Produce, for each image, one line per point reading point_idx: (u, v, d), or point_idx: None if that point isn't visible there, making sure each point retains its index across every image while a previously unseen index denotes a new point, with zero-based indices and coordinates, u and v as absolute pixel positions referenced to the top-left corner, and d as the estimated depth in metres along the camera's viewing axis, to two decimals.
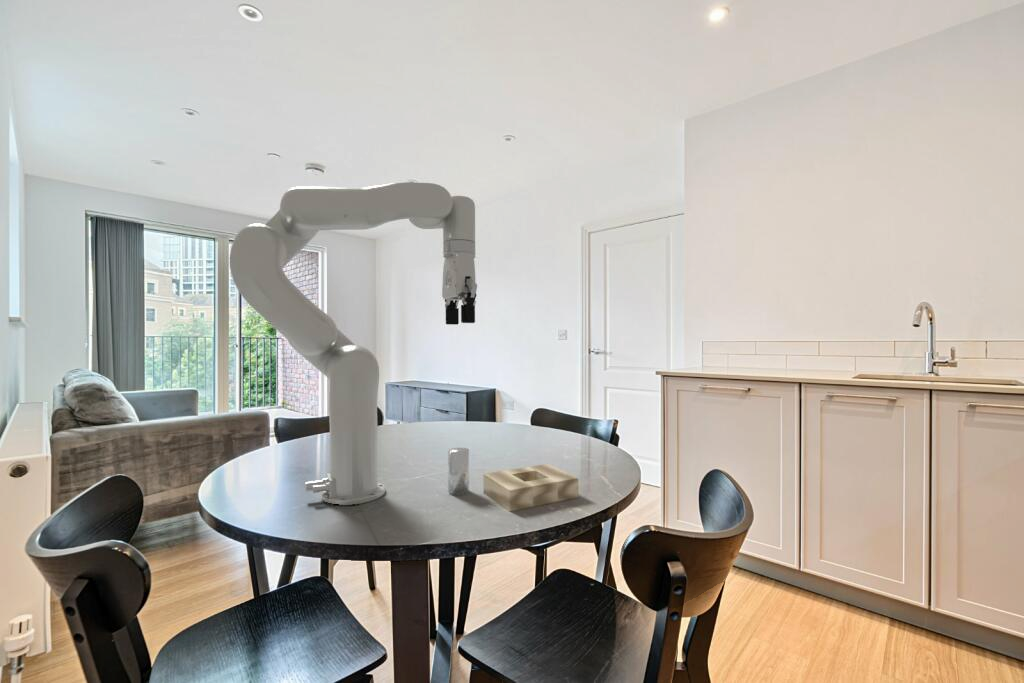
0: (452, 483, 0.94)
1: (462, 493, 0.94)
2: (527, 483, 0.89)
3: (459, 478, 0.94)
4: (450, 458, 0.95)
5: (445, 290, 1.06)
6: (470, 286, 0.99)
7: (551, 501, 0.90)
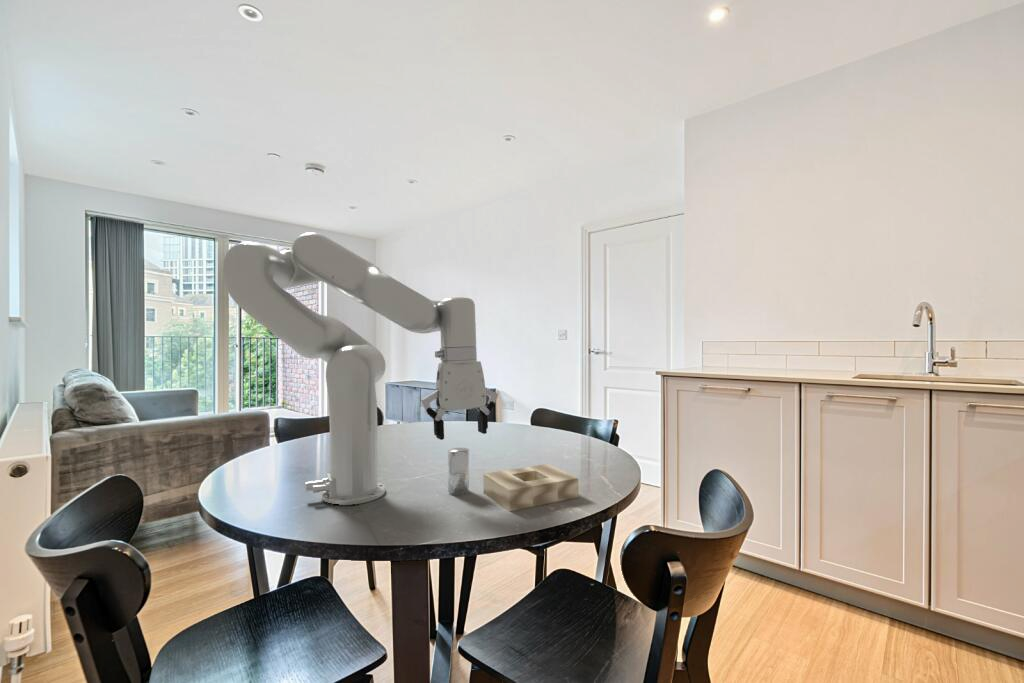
0: (452, 483, 0.94)
1: (462, 493, 0.94)
2: (527, 483, 0.89)
3: (459, 478, 0.94)
4: (450, 458, 0.95)
5: (456, 401, 0.93)
6: (494, 395, 0.99)
7: (551, 501, 0.90)
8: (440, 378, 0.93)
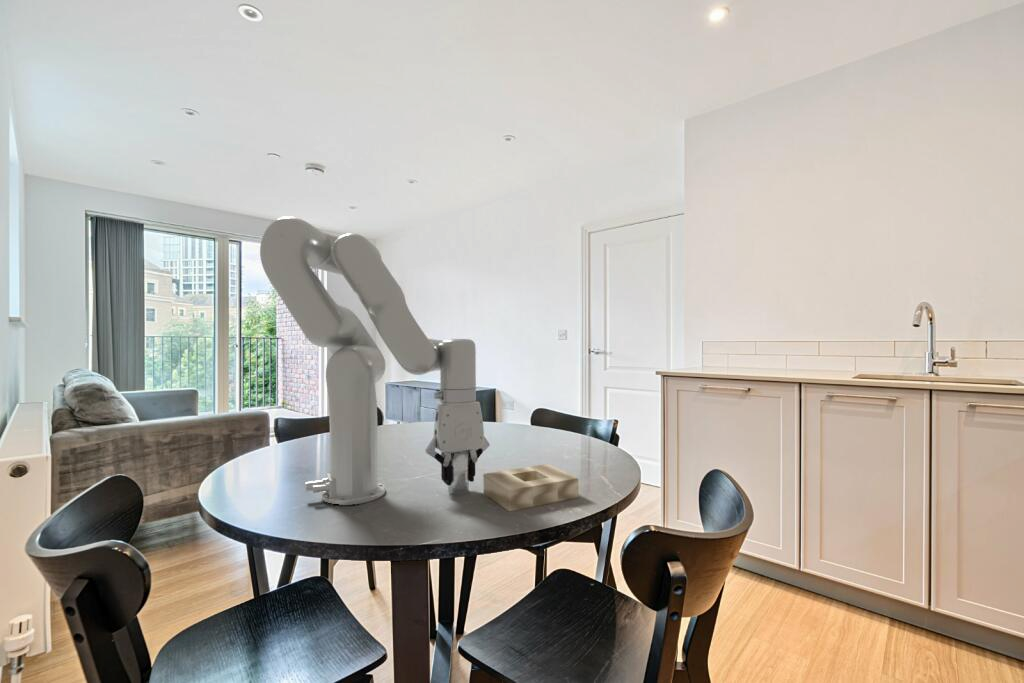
0: (452, 483, 0.94)
1: (462, 493, 0.94)
2: (527, 483, 0.89)
3: (459, 478, 0.94)
4: (450, 458, 0.95)
5: (454, 443, 0.93)
6: (485, 444, 0.99)
7: (551, 501, 0.90)
8: (439, 420, 0.93)
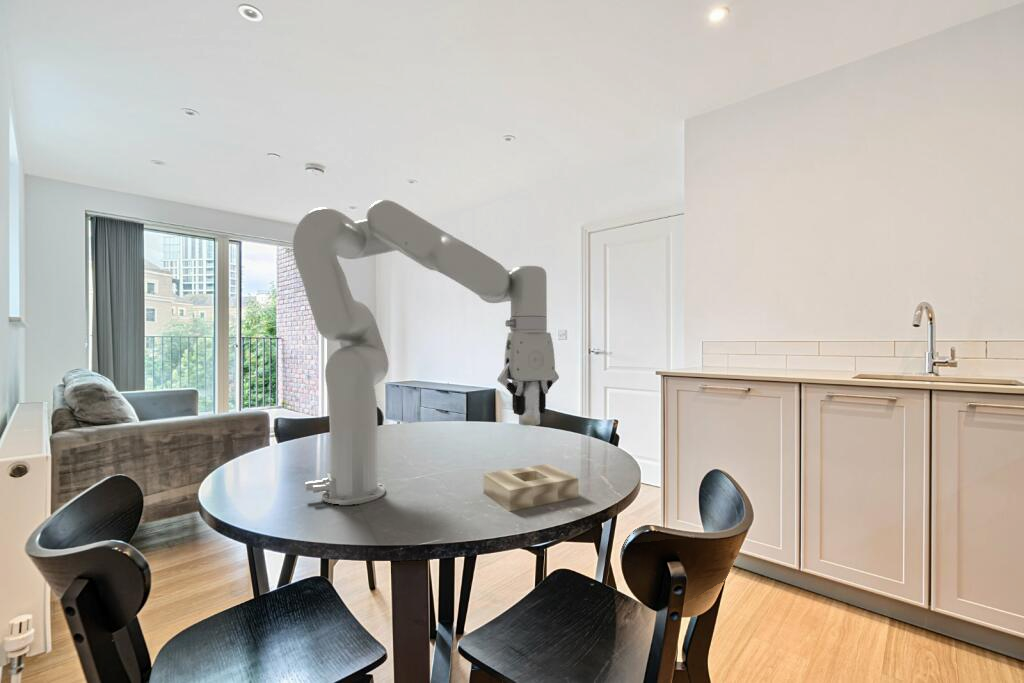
0: (524, 413, 0.92)
1: (534, 423, 0.92)
2: (527, 483, 0.89)
3: (531, 408, 0.92)
4: (522, 388, 0.93)
5: (527, 371, 0.91)
6: (555, 376, 0.96)
7: (551, 501, 0.90)
8: (511, 347, 0.91)
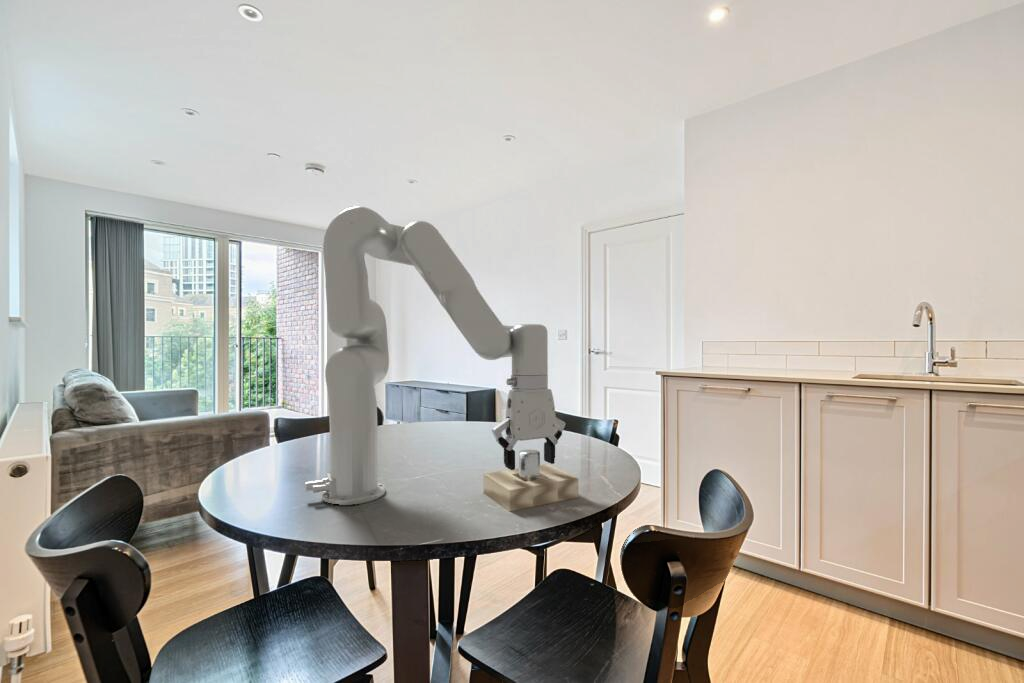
0: None
1: None
2: (527, 483, 0.89)
3: None
4: (522, 460, 0.93)
5: (528, 430, 0.91)
6: (562, 424, 0.97)
7: (551, 501, 0.90)
8: (512, 407, 0.91)
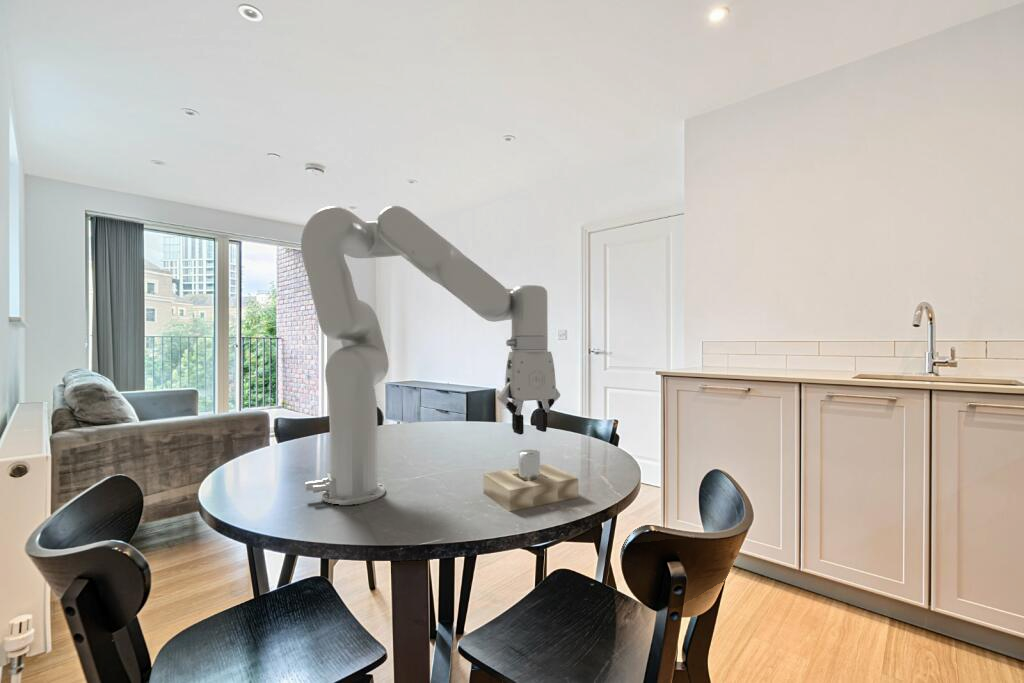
0: None
1: None
2: (527, 483, 0.89)
3: None
4: (522, 460, 0.93)
5: (528, 390, 0.91)
6: (556, 394, 0.97)
7: (551, 501, 0.90)
8: (512, 367, 0.91)
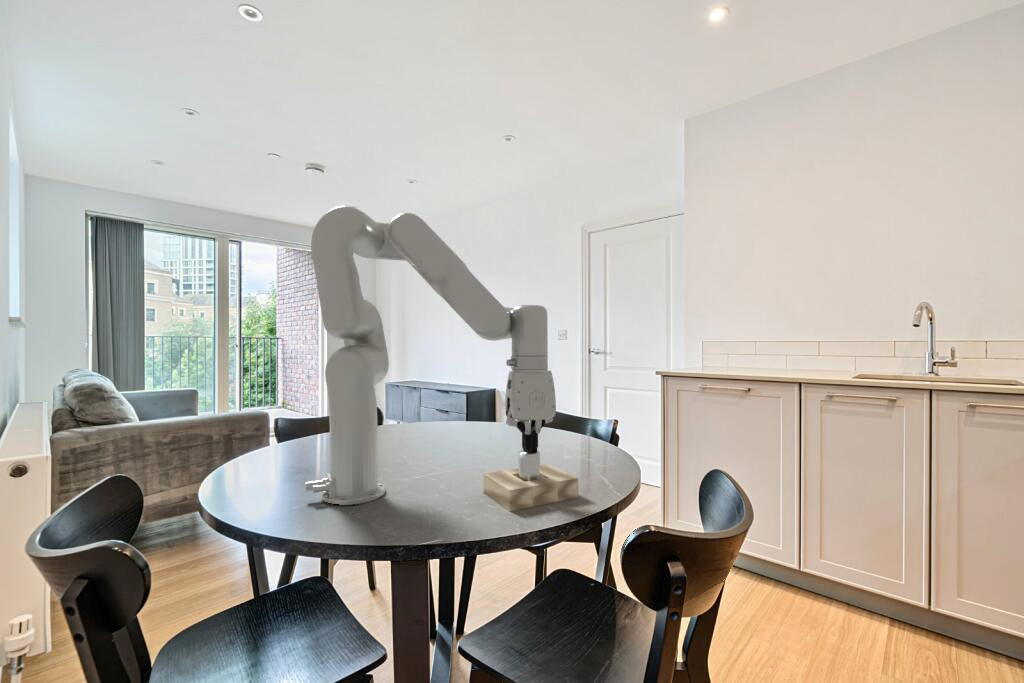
0: None
1: None
2: (527, 483, 0.89)
3: None
4: (522, 460, 0.93)
5: (528, 411, 0.91)
6: (549, 418, 0.96)
7: (551, 501, 0.90)
8: (512, 387, 0.91)
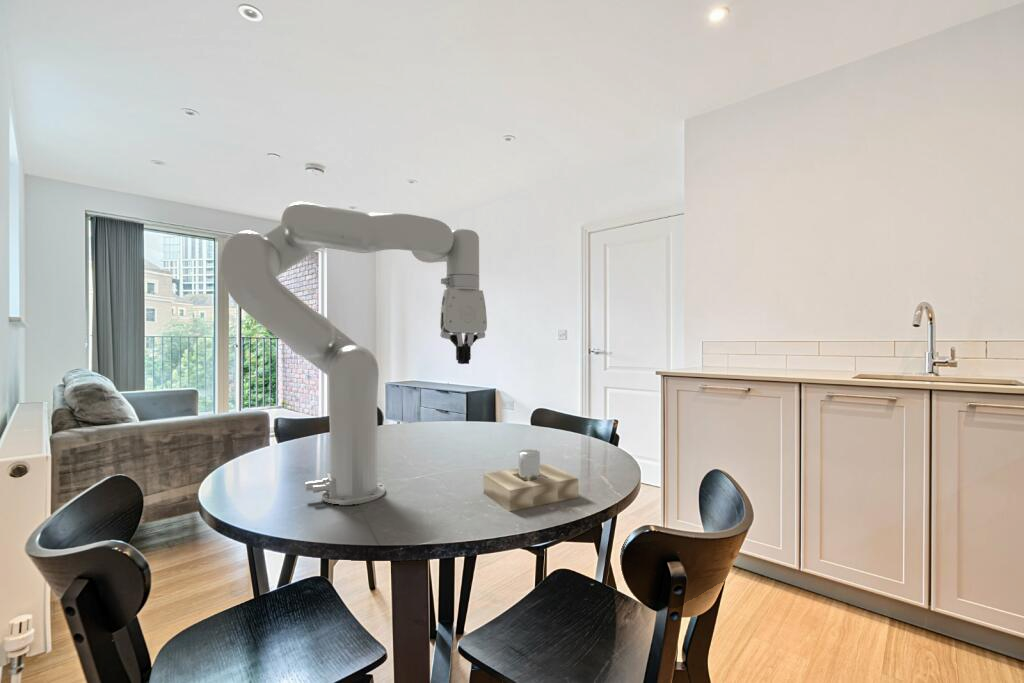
0: None
1: None
2: (527, 483, 0.89)
3: None
4: (522, 460, 0.93)
5: (459, 323, 1.01)
6: (481, 334, 1.06)
7: (551, 501, 0.90)
8: (445, 302, 1.01)
